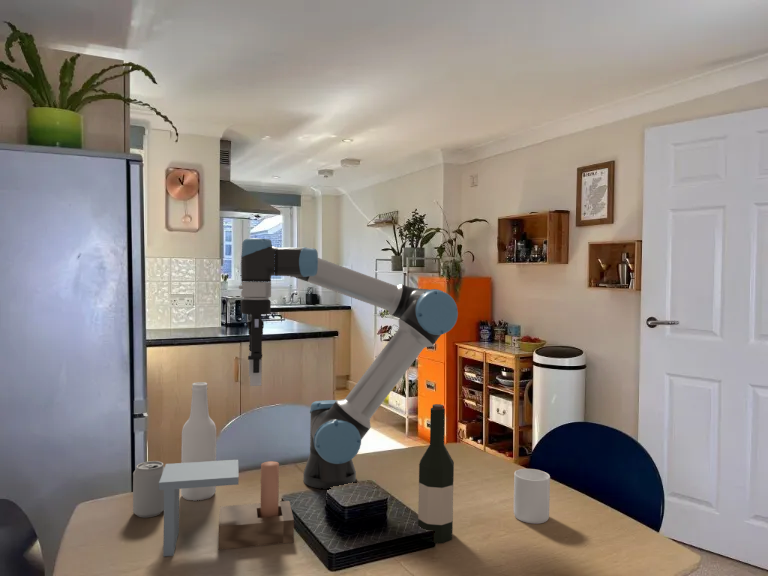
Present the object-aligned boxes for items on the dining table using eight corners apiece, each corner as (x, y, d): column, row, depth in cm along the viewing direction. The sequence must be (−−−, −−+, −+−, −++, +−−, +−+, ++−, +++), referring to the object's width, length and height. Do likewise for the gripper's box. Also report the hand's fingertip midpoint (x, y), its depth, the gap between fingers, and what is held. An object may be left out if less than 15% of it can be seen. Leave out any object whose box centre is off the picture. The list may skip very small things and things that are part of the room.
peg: (277, 529, 132) (278, 460, 132) (278, 536, 128) (279, 466, 128) (259, 530, 131) (260, 461, 131) (260, 538, 127) (261, 467, 127)
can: (153, 520, 136) (154, 470, 135) (126, 517, 137) (126, 467, 137) (171, 508, 143) (172, 460, 143) (145, 505, 144) (145, 458, 144)
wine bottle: (443, 547, 125) (446, 411, 124) (410, 537, 129) (413, 406, 129) (459, 533, 132) (462, 404, 131) (427, 524, 136) (429, 399, 136)
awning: (237, 525, 134) (238, 459, 134) (237, 549, 122) (238, 477, 122) (165, 531, 130) (165, 463, 129) (158, 557, 118) (159, 482, 118)
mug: (534, 504, 150) (535, 463, 150) (555, 523, 138) (556, 479, 138) (503, 505, 148) (504, 464, 148) (521, 525, 136) (522, 481, 136)
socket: (288, 521, 136) (289, 500, 136) (293, 542, 126) (293, 519, 126) (219, 527, 132) (219, 506, 132) (218, 549, 122) (218, 526, 122)
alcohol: (222, 493, 153) (224, 382, 153) (197, 504, 146) (199, 387, 145) (198, 486, 158) (200, 379, 157) (173, 497, 150) (174, 384, 149)
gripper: (240, 296, 158) (239, 372, 158) (241, 300, 133) (240, 390, 134) (268, 296, 159) (267, 372, 160) (273, 300, 135) (272, 389, 136)
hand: (254, 380), depth 147 cm, fingers open, 13 cm apart
